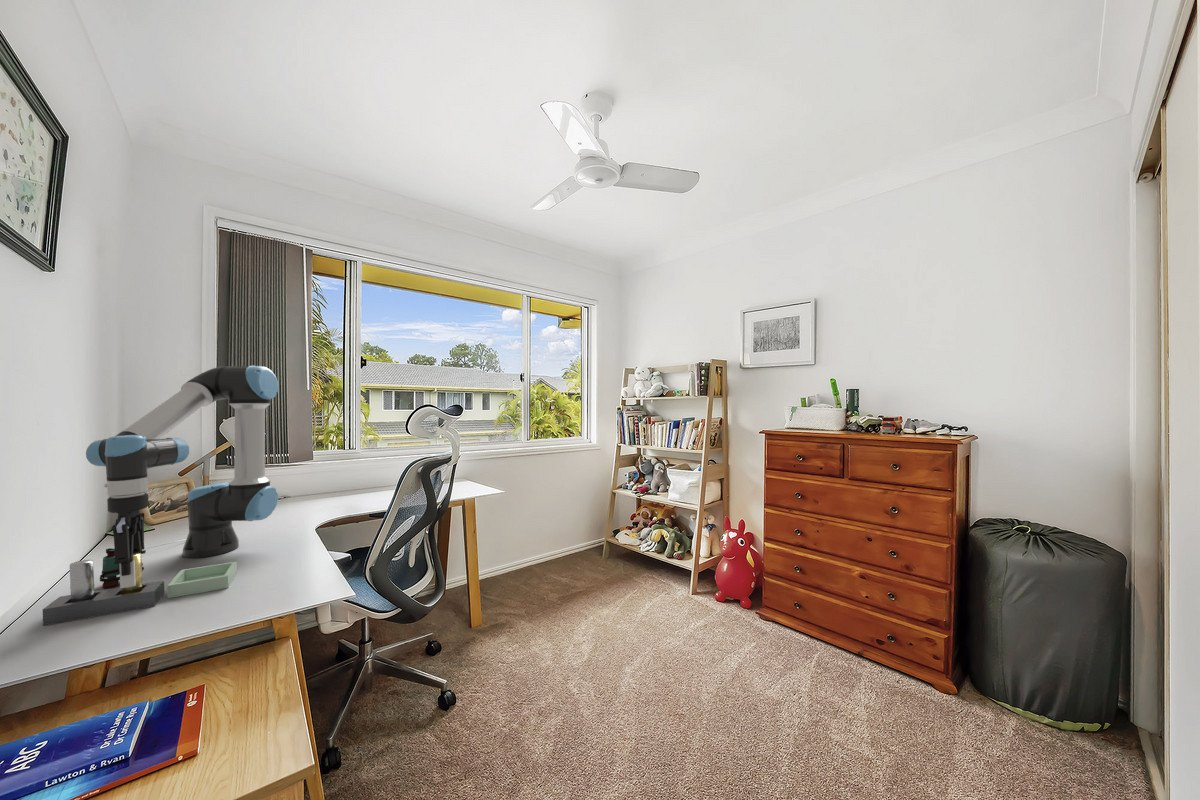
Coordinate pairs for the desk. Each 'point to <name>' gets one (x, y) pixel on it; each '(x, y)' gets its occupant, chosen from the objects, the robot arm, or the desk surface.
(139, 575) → the brass pin
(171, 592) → the tray
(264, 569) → the desk surface
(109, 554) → the binoculars
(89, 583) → the pin
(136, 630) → the desk surface
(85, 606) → the bar
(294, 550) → the desk surface
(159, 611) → the desk surface
